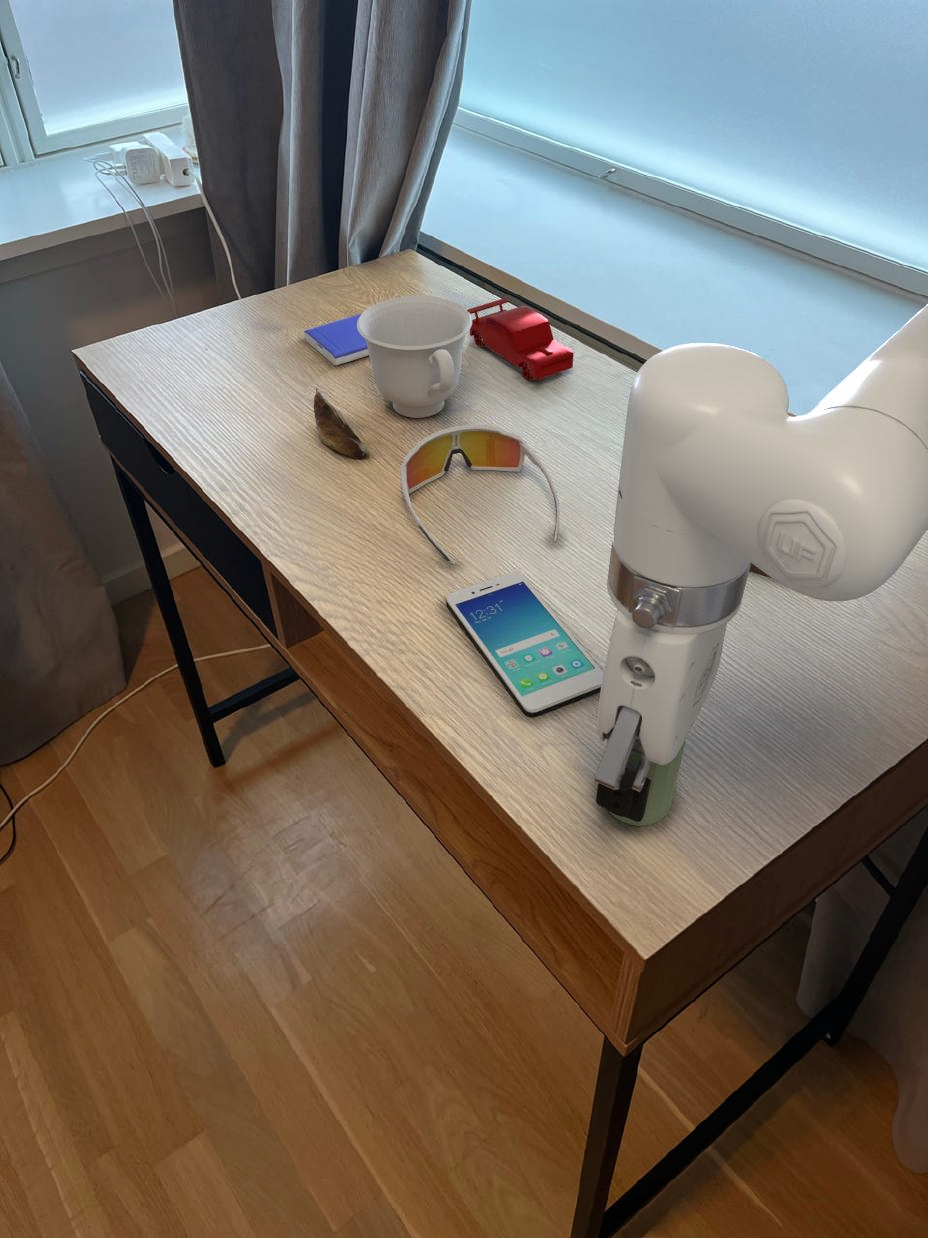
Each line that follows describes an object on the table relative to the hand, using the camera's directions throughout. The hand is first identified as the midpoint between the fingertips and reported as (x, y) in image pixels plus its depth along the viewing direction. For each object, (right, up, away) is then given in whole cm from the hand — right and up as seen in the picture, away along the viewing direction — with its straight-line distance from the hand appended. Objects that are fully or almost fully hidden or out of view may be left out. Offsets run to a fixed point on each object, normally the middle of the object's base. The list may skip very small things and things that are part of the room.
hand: (641, 769), depth 66 cm
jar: (0, -2, +2) cm, 3 cm away
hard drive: (-24, +44, +53) cm, 73 cm away
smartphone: (-7, +8, +14) cm, 17 cm away
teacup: (-17, +33, +41) cm, 55 cm away
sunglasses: (-11, +21, +27) cm, 36 cm away
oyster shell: (-25, +29, +37) cm, 53 cm away
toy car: (-6, +41, +49) cm, 65 cm away
